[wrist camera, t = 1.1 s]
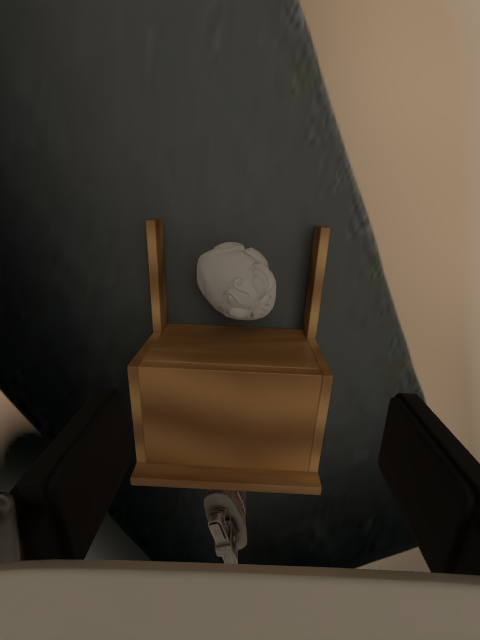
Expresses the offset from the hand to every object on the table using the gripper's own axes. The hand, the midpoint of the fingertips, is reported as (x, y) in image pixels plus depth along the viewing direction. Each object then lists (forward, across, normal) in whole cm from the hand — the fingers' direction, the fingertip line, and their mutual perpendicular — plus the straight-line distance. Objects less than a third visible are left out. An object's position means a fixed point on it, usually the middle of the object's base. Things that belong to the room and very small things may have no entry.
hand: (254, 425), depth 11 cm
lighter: (+20, +2, +22) cm, 30 cm away
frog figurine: (+20, +1, -2) cm, 20 cm away
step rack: (+20, +2, +4) cm, 20 cm away
